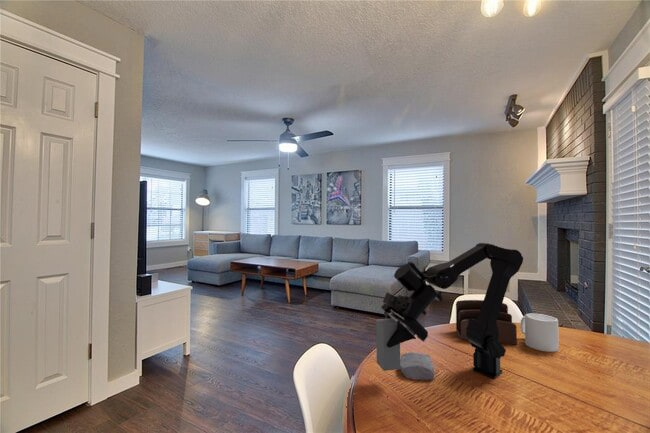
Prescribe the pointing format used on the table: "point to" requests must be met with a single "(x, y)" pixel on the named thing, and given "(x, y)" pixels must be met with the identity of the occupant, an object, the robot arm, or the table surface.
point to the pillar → (385, 355)
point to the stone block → (417, 366)
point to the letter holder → (472, 310)
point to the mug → (540, 332)
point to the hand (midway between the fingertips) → (383, 342)
